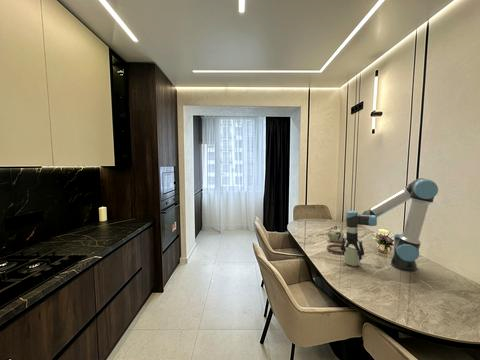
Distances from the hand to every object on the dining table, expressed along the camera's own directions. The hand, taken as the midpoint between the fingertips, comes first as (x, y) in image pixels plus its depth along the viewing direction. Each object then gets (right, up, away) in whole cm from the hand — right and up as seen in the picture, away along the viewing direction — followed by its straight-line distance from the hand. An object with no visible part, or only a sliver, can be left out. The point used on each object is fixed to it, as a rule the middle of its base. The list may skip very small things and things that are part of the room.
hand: (352, 261), depth 166 cm
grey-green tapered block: (0, -1, 0) cm, 1 cm away
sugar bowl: (+10, +1, +52) cm, 53 cm away
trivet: (+1, 0, +27) cm, 27 cm away
